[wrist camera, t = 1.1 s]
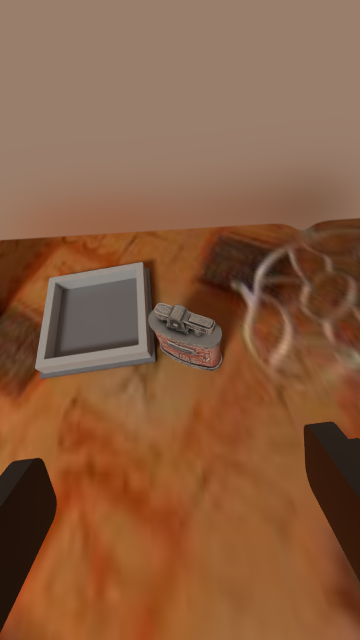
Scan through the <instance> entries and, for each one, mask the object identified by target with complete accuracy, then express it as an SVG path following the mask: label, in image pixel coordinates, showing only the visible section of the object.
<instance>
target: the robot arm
mask: <svg viewBox="0 0 360 640" xmlns="http://www.w3.org/2000/svg"><path fill="white" fill-rule="evenodd" d="M304 446H305V466H306V473H307V477H308V481H309V484H310V487H311V489H312V491H313V493H314V495H315V497H316V499H317V501H318V503H319V505H320V507H321V509H322V511H323V512H324V514H325V516H326V518H327V520H328V522H329V524H330V526H331V528H332V530H333V532H334V534H335V536H336V537H337V539H338V541H339V543H340V545H341V547H342V549H343V551H344V553H345V555H346V557H347V559H348V560H349V562H350V564H351V566H352V568H353V570H354V572H355V574H356V576H357V578H358V580H359V582H360V439H359V438H355V439H348V438H347V437H346V436H345V435H344V433H343V432H342V431H341V430H340V429H339V427H338V426H337V425H336V424H335V423H334V422H323V423H316V424H308V425H305V426H304ZM56 506H57V501H56V495H55V492H54V489H53V487H52V484H51V481H50V478H49V475H48V472H47V469H46V467H45V464H44V462H43V460H42V459H40V458H34V459H26V460H18V461H14V462H12V463H11V464H10V465H9V466H8V467H7V468H6V469H5V471H4V472H3V473H2V474H1V476H0V632H1V630H2V628H3V626H4V624H5V622H6V620H7V617H8V615H9V613H10V611H11V609H12V607H13V605H14V603H15V600H16V598H17V596H18V594H19V592H20V590H21V588H22V586H23V584H24V581H25V579H26V577H27V575H28V573H29V571H30V569H31V567H32V564H33V562H34V560H35V558H36V556H37V554H38V552H39V550H40V547H41V545H42V543H43V541H44V539H45V537H46V535H47V533H48V531H49V528H50V526H51V524H52V522H53V520H54V517H55V513H56Z"/></svg>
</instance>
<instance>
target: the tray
mask: <svg viewBox="0 0 360 640" xmlns="http://www.w3.org/2000/svg"><path fill="white" fill-rule="evenodd" d="M151 312H152V295H151V280H150V269H149V268H145V267H144V264H143V262H140V263H134V264H128V265H123V266H117V267H111V268H105V269H99V270H94V271H88V272H82V273H76V274H70V275H65V276H59V277H53V278H50V279H49V285H48V292H47V298H46V304H45V310H44V316H43V322H42V329H41V335H40V341H39V347H38V353H37V359H36V366H35V369H37V370H39V371H41V374H40V378H41V379H45V378H52V377H59V376H65V375H72V374H79V373H85V372H92V371H99V370H106V369H112V368H119V367H126V366H132V365H139V364H146V363H152V362H156V355H155V340H154V330H153V329H152V328H151V327H150V325H149V322H148V317H149V314H150V313H151Z"/></svg>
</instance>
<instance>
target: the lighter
mask: <svg viewBox="0 0 360 640" xmlns="http://www.w3.org/2000/svg"><path fill="white" fill-rule="evenodd" d="M148 322H149V325H150V327H151V328H152V329H153V330H154V331H155V333H156V335H157V337H158V340H159V342H160V347H161V349H162V352H163V353H164V354H166V355H167V356H169V357H171V358H172V359H174V360H176V361H178V362H180V363H182V364H184V365H187V366H190V367H194V368H197V369H202V370H207V371H215V370H217V369H218V368H219V367H220V366H221V363H222V355H221V353H220V343H221V340H222V330H221V328H220V326H218V325H217V324H215V321H214V320H213V319H211V318H207V317H204V316H201V315H198V314H195V313H192V312H190V311H189V310H187V309H186V308H185V307H184V306H182V305H178V304H176V305H174V306H170V305H167V304H163V303H158V304H157V305H156V307H155V309H154V310H152V312H151V313H150V314H149V317H148Z"/></svg>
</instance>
